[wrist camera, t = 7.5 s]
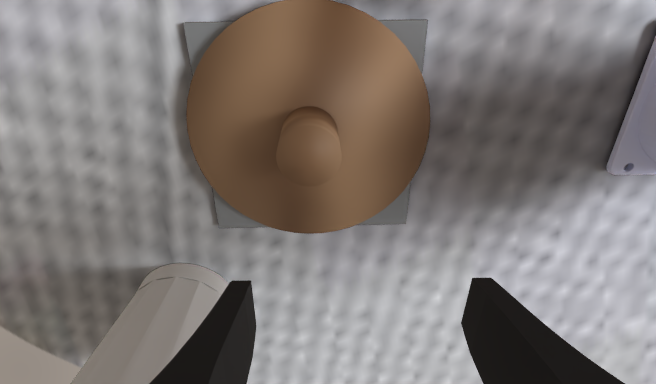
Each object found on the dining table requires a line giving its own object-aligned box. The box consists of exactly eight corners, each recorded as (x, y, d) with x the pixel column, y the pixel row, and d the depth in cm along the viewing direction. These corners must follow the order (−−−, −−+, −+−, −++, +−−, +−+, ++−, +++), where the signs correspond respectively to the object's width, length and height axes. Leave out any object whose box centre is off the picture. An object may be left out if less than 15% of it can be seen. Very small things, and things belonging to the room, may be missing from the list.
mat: (425, 19, 17) (427, 20, 17) (404, 220, 23) (405, 223, 22) (186, 22, 17) (183, 22, 17) (220, 224, 22) (219, 228, 22)
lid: (447, 4, 17) (479, 7, 13) (408, 228, 22) (424, 269, 19) (173, -9, 16) (137, -8, 13) (205, 224, 22) (185, 266, 19)
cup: (101, 271, 24) (-70, 496, 13) (217, 238, 23) (133, 453, 12) (164, 351, 27) (70, 578, 17) (266, 326, 26) (234, 549, 16)
